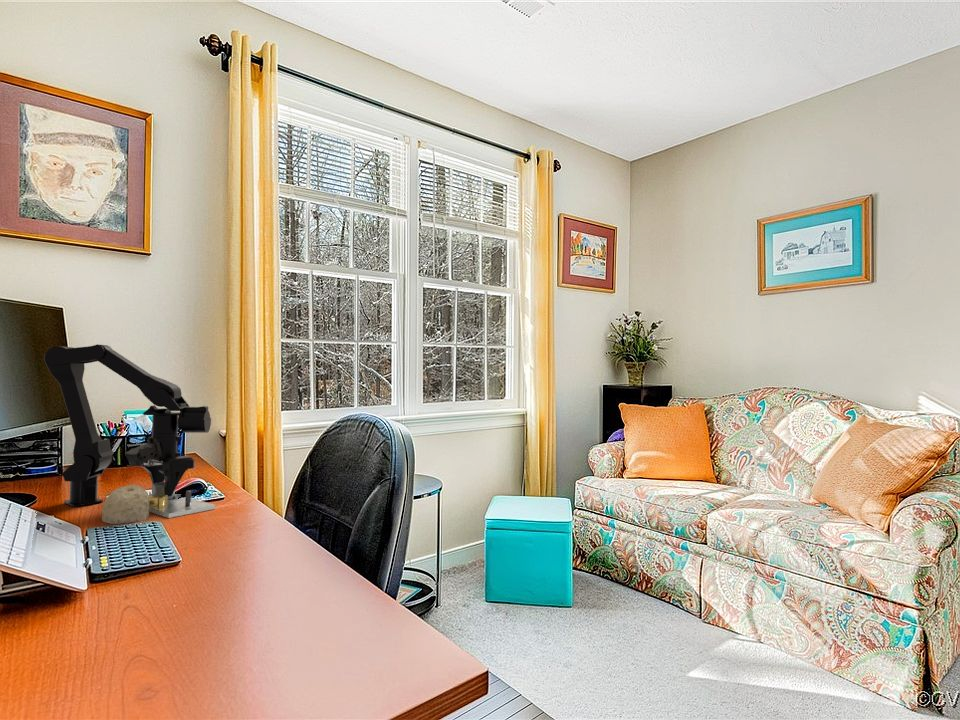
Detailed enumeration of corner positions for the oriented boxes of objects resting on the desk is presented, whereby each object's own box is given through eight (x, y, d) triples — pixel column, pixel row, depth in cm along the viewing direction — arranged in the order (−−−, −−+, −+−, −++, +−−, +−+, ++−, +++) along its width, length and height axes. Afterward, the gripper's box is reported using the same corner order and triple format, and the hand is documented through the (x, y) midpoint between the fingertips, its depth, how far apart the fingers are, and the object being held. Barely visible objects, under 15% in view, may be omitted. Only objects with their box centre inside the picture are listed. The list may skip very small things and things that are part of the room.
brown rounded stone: (149, 536, 130) (166, 494, 136) (125, 520, 122) (144, 477, 128) (111, 533, 131) (130, 492, 137) (84, 518, 123) (106, 475, 129)
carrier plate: (138, 509, 137) (138, 490, 137) (186, 500, 146) (187, 483, 146) (165, 518, 129) (166, 498, 129) (214, 508, 139) (215, 490, 139)
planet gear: (140, 501, 144) (140, 484, 144) (170, 496, 151) (171, 479, 151) (155, 506, 140) (155, 488, 140) (185, 501, 146) (186, 483, 146)
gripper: (113, 432, 144) (112, 494, 144) (149, 438, 134) (147, 505, 133) (159, 429, 153) (157, 487, 153) (196, 434, 143) (194, 497, 143)
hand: (163, 494), depth 145 cm, fingers open, 6 cm apart
